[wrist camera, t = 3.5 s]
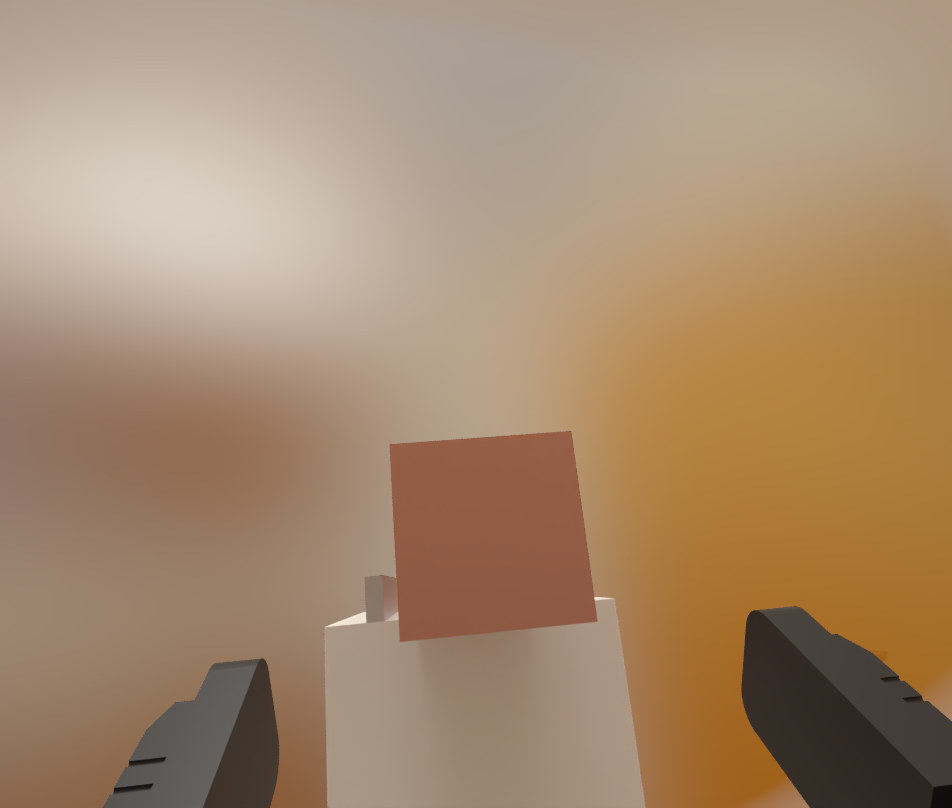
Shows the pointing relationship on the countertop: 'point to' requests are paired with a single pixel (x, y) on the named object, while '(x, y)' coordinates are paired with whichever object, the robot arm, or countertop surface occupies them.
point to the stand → (477, 715)
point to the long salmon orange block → (489, 536)
